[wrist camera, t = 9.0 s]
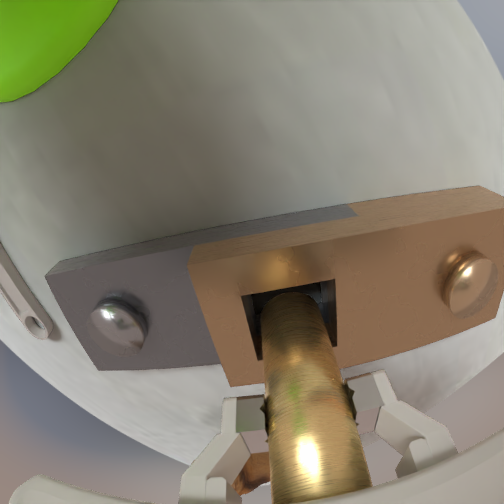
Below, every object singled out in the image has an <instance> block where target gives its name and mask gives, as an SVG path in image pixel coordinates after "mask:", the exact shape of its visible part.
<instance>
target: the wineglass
mask: <svg viewBox="0 0 504 504" xmlns="http://www.w3.org/2000/svg"><path fill="white" fill-rule="evenodd" d="M117 2H118V0H0V102H11V101H14V100H16V99H18V98H20V97H22V96H25V95H27V94H29V93H31V92H34V91H35V90H36V89H38V88H39V87H40V86H42V85H43V84H44V83H46V82H47V81H48V80H50V79H51V78H52V77H54V76H55V75H57V74H58V73H59V72H60V71H61V70H62V69H63V68H64V67H65V66H66V65H67V64H68V63H69V62H70V61H71V60H72V59H73V58H74V57H75V56H76V55H77V54H78V53H79V52H80V51H81V50H82V49H83V48H84V47H85V46H86V44H87V43H88V42H89V40H90V39H91V38H92V37H93V35H94V34H95V33H96V32H97V30H98V29H99V28H100V27H101V25H102V24H103V23H104V22H105V21H106V20H107V18H108V17H109V15H110V13H111V12H112V10H113V8H114V7H115V5H116V4H117Z"/></svg>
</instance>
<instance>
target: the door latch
mask: <svg viewBox="0 0 504 504" xmlns="http://www.w3.org/2000/svg"><path fill="white" fill-rule="evenodd" d="M45 278H46V280H47V282H48V284H49V287H50V289H51V291H52V293H53V295H54V297H55V298H56V300H57V302H58V304H59V306H60V308H61V310H62V312H63V314H64V315H65V317H66V319H67V321H68V323H69V324H70V326H71V328H72V329H73V331H74V333H75V335H76V336H77V338H78V340H79V341H80V343H81V344H82V346H83V348H84V349H85V351H86V352H87V354H88V356H89V357H90V359H91V360H92V362H93V363H94V365H95V366H96V368H97V369H98V370H99V371H105V370H147V369H165V368H180V367H192V366H203V365H213V364H222V367H223V369H224V372H225V374H226V377H227V379H228V382H229V384H230V387H234V386H243V385H251V384H259V383H265V381H264V365H263V350H262V334H261V314H258V315H255V310H254V306H253V302H252V298H251V294H254V293H260V292H266V291H272V290H277V289H283V288H288V287H294V286H299V285H305V284H310V283H315V282H320V285H321V297H322V303H319V304H318V306H319V309H320V312H321V315H322V318H323V321H324V324H325V327H326V330H327V333H328V336H329V339H330V342H331V345H332V348H333V351H334V354H335V357H336V360H337V364H338V367H339V369H342V368H346V367H350V366H354V365H359V364H363V363H366V362H370V361H374V360H378V359H381V358H385V357H389V356H392V355H395V354H399V353H402V352H405V351H409V350H412V349H415V348H418V347H421V346H424V345H427V344H430V343H433V342H436V341H439V340H441V339H444V338H447V337H450V336H452V335H455V334H458V333H460V332H463V331H465V330H468V329H470V328H473V327H475V326H478V325H480V324H482V323H485V322H487V321H489V320H492V319H494V318H495V317H496V314H497V311H498V308H499V304H500V301H501V298H502V294H503V291H504V197H503V196H501V195H499V194H497V193H495V192H492V191H490V190H488V189H486V188H484V187H482V186H472V187H464V188H456V189H448V190H440V191H432V192H425V193H417V194H410V195H403V196H396V197H389V198H382V199H376V200H369V201H363V202H356V203H350V204H343V205H337V206H331V207H325V208H319V209H313V210H307V211H301V212H295V213H290V214H284V215H278V216H273V217H267V218H262V219H256V220H251V221H246V222H240V223H235V224H230V225H224V226H219V227H214V228H209V229H204V230H199V231H194V232H189V233H184V234H179V235H174V236H170V237H165V238H160V239H155V240H151V241H146V242H141V243H137V244H132V245H128V246H123V247H119V248H114V249H110V250H105V251H101V252H97V253H92V254H88V255H84V256H79V257H75V258H71V259H67V260H63V261H59V262H58V263H57V264H56V265H55V266H54V267H53V268H52V269H51V270H50V271H49V272H48V273H47V274H46V275H45Z"/></svg>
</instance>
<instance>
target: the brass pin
mask: <svg viewBox="0 0 504 504" xmlns="http://www.w3.org/2000/svg"><path fill="white" fill-rule="evenodd" d="M261 334H262V350H263V365H264V381H265V397H266V409H267V425H268V446H269V462H270V479H271V496H272V504H290V503H298V502H305V501H311V500H317V499H323V498H328V497H333V496H337V495H342V494H346V493H350V492H355V491H358V490H362V489H366V488H369V487H373V486H372V482H371V478H370V474H369V470H368V467H367V462H366V459H365V455H364V451H363V448H362V444H361V440H360V437H359V433H358V430H357V426H356V423H355V419H354V416H353V412H352V409H351V406H350V402H349V399H348V396H347V392H346V389H345V386H344V383H343V379H342V376H341V373H340V370H339V367H338V364H337V360H336V357H335V354H334V351H333V348H332V345H331V342H330V339H329V336H328V333H327V330H326V327H325V324H324V321H323V318H322V315H321V312H320V309H319V306H318V304H317V303H316V301H315V300H314V299H313V298H312V297H310V296H308V295H307V294H304V293H300V292H287V293H282V294H280V295H277V296H275V297H274V298H272V299H271V300H269V301H268V302H267V303H266V305H265V306H264V308H263V309H262V312H261Z"/></svg>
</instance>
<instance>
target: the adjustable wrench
mask: <svg viewBox="0 0 504 504" xmlns="http://www.w3.org/2000/svg"><path fill="white" fill-rule="evenodd" d="M0 292H1V294H2V295H3V297H4V298H5V300H6V301H7V303H8V304H9V306H10V307H11V309H12V310H13V311H14V313H15V314H16V316H17V317H18V318H19V320H20V321H21V322H22V324H23V325H24V326H25V328H26V329H27V330H28V331H29V332H30V333H31V334H32V335H33V336H34V337H36V338H38V339H41V340H45V339H46V338H47V337H48V336H49V334H50V333H51V332H52V330H53V323H52V320H51V319H50V317H49V316H48V314H47V313H46V312H45V310H44V309H43V308H42V306H41V305H40V304H39V302H38V301H37V299H36V298H35V297H34V295H33V294H32V292H31V291H30V289H29V288H28V286H27V285H26V284H25V282H24V281H23V279H22V277H21V276H20V274H19V273H18V271H17V270H16V268H15V266H14V265H13V263H12V262H11V260H10V258H9V257H8V255H7V253H6V252H5V250H4V248H3V246H2V245H1V243H0ZM33 317H34V318H36V319H37V320H38V321H40V323H41V324H42V325H43V326H44V328H45V329H43V328H41V327H39V326H38V325H37V324H36V323H35V321H34V320H33Z"/></svg>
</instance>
